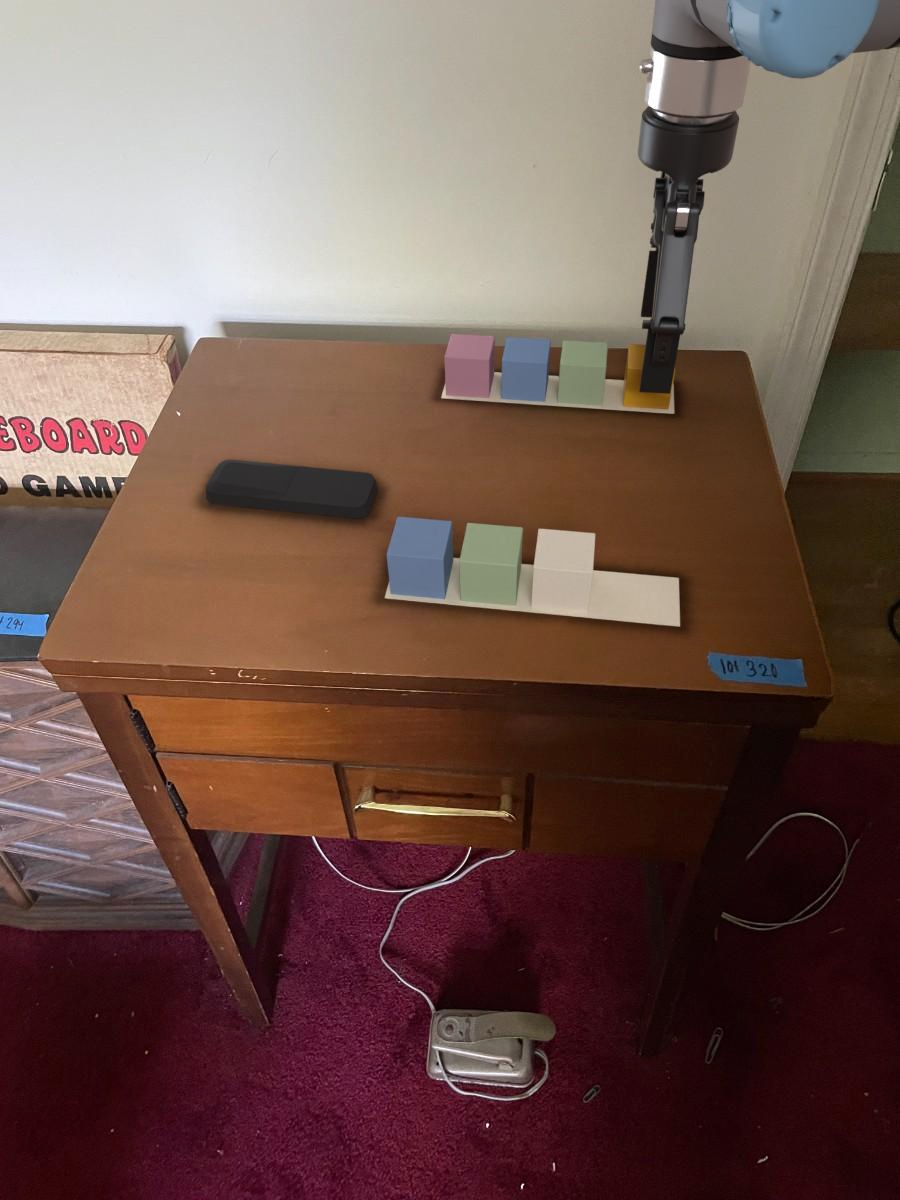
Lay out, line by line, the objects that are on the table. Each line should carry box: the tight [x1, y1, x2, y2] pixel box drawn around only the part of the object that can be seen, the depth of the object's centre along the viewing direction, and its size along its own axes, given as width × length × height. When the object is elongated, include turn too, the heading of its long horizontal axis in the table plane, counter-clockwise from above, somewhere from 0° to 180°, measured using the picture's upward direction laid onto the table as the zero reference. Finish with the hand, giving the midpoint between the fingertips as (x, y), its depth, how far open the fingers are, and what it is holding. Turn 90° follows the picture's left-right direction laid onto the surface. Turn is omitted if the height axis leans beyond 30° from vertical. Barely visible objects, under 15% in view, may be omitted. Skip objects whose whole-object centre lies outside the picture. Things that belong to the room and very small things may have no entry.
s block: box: [623, 343, 676, 409], centre depth 88 cm, size 4×4×4 cm
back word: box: [440, 333, 675, 415], centre depth 89 cm, size 23×5×4 cm, turn 81°
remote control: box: [205, 459, 379, 520], centre depth 80 cm, size 5×2×15 cm
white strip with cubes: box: [384, 516, 681, 627], centre depth 70 cm, size 23×5×4 cm, turn 81°
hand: (654, 351), depth 85 cm, fingers open, 13 cm apart
